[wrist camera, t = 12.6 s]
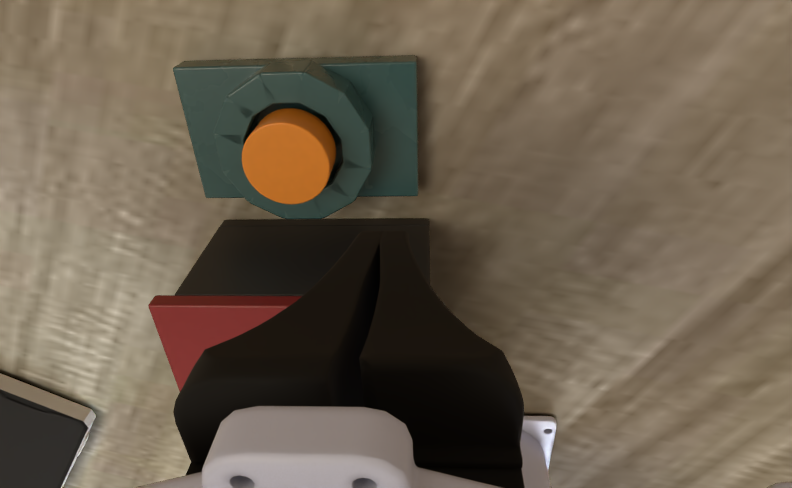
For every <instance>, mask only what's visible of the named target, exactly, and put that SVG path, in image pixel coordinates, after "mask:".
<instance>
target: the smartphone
mask: <svg viewBox="0 0 792 488" xmlns="http://www.w3.org/2000/svg"><path fill="white" fill-rule="evenodd" d="M95 417H96V415H95V413H94V412H93V410H92V409H90V408H87V407H85V406H82V405H80V404H77V403H75V402H72V401H69V400H67V399H64V398H62V397H59V396H57V395H54V394H52V393H49V392H47V391H44V390H41V389H39V388H36V387H34V386H31V385H29V384H26V383H24V382H21V381H19V380H16V379H14V378H11V377H8V376H6V375H3V374H1V373H0V488H63V487H64V484H65V482H66V480H67V478H68V476H69V474H70V471H71V469H72V467H73V465H74V463H75V461H76V458H77V457H78V456H79V454H80V453H81V451H82V450H83V448H84V445H85V443H86V441H87V439H88V437H89V435H90V432H89V430H90V428H91V426H92V424H93V422H94V420H95Z"/></svg>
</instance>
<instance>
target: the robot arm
mask: <svg viewBox="0 0 792 488" xmlns="http://www.w3.org/2000/svg"><path fill="white" fill-rule="evenodd" d="M174 417H175V422H176V425H177V427H178V430H179V432H180V435H181V437H182V440H183V442H184V445H185V447H186V450H187V452H188V455H189V457H190V460H191V464H190V467H189V469H188V471H187V473H186V476H182V477H177V478H173V479H169V480H165V481H160V482H156V483H152V484H147V485H143V486H139V487H135V488H552V487H551V483H550V478H549V474H548V468H549V463H550V457H551V452H552V447H553V442H554V437H555V432H556V427H557V423H556V420H555V418H553V417H551V416H524V403H523V398H522V394H521V391H520V388H519V385H518V383H517V380H516V378H515V375H514V373H513V371H512V369H511V367H510V365H509V363H508V361H507V359H506V357H505V355H504V353H503V352H502V351H501V350H500V349H498V348H497V347H495V346H493V345H492V344H490V343H489V342H487V341H485V340H484V339H482V338H480V337H479V336H477V335H476V334H475V333H473V332H472V331H471V330H470V329H468V328H467V327H466V326H465V325H464V324H463V323H462V322H461V321H460V320H459V319H458V318H456V317H455V316H454V315H453V314H452V313H451V312H450V310H449V309H448V308H447V307H446V306H445V305H444V304H443V302H442V301H441V300H440V299H439V297H438V296H437V295H436V293H435V292H434V291H433V289H432V288H431V286H430V285H429V283H428V281H427V280H426V278H425V277H424V275H423V273H422V271H421V269H420V267H419V265H418V263H417V261H416V259H415V257H414V254H413V252H412V249H411V246H410V242H409V234H408V233H407V232H406V231H361V232H360V233H359V234H358V235H357V237H356V238H355V239H354V241H353V242H352V243H351V245H350V246H349V247H348V249H347V250H346V251H345V253H344V254H343V255H342V256H341V257H340V259H339V260H338V261H337V262H336V263H335V264H334V266H333V267H332V268H331V269H330V270H329V271H328V272H327V273H326V274H325V275H324V276H323V277H322V278H321V279H320V280H319V281H318V282H317V283H316V285H314V286H313V287H312V288H311V289H310V290H309V291H308V292H307V293H306V294H304V295H303V296H302V297H301V298H299V299H298V300H297V301H296V302H294V303H293V304H292V305H290V306H289V307H287V308H286V309H284V310H283V311H281V312H280V313H278V314H277V315H275V316H274V317H272V318H270V319H269V320H267V321H265V322H264V323H262V324H260V325H258V326H256V327H255V328H253V329H251V330H249V331H247V332H245V333H243V334H241V335H238V336H236V337H234V338H232V339H229V340H227V341H224V342H222V343H220V344H217V345H215V346H212V347H210V348H207V349H205V350H204V351H203V353H202V355H201V356H200V358H199V359H198V361H197V362H196V364H195V365H194V367H193V369H192V370H191V372H190V374H189V376H188V378H187V380H186V382H185V384H184V386H183V388H182V390H181V391H180V393H179V395H178V397H177V399H176V402H175V407H174ZM767 488H792V482H781V483H775V484H773V485H771V486H768V487H767Z"/></svg>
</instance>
